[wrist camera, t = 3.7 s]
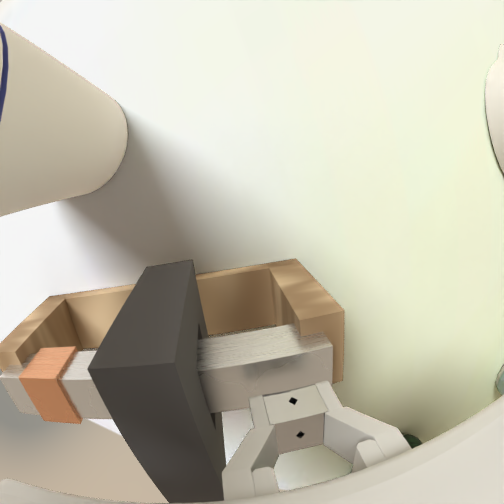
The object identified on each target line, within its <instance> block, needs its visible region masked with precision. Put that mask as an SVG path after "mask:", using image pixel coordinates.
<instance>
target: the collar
mask: <svg viewBox="0 0 504 504" xmlns="http://www.w3.org/2000/svg"><path fill="white" fill-rule="evenodd" d="M207 338H209V336H208V332H207V328H206V323H205V318H204V314H203V309H202V305H201V300H200V295H199V290H198V285H197V280H196V275H195V270H194V265H193V260H188V261H181V262H175V263H169V264H163V265H156V266H150V267H146V269H145V270H144V272H143V274H142V275H141V277H140V278H139V280H138V282H137V283H136V285H135V286H134V288H133V290H132V291H131V293H130V295H129V296H128V298H127V300H126V301H125V303H124V305H123V306H122V308H121V310H120V311H119V313H118V315H117V316H116V318H115V320H114V321H113V323H112V325H111V327H110V328H109V330H108V332H107V334H106V335H105V337H104V339H103V341H102V343H101V344H100V346H99V348H98V350H97V352H96V353H95V355H94V357H93V359H92V361H91V363H90V365H89V366H88V368H87V370H88V372H89V374H90V376H91V378H92V380H93V382H94V384H95V386H96V388H97V390H98V392H99V394H100V396H101V398H102V400H103V402H104V404H105V406H106V408H107V410H108V412H109V413H110V415H111V417H112V419H113V420H114V422H115V424H116V426H117V427H118V429H119V431H120V433H121V434H122V436H123V438H124V439H125V441H126V442H127V444H128V446H129V447H130V449H131V450H132V452H133V453H134V455H135V457H136V458H137V460H138V461H139V463H140V464H141V465H142V467H143V468H144V470H145V471H146V473H147V474H148V475H149V477H150V478H151V479H152V481H153V482H154V484H155V485H156V486H157V488H158V489H159V490H160V492H161V493H162V494H163V496H164V497H165V498H166V499H167V501H168V502H169V503H200V502H214V501H224V493H223V482H222V471H223V470H224V469H225V467H226V458H225V448H224V437H223V425H222V413H221V412H216V413H210V411H209V408H208V405H207V402H206V399H205V395H204V392H203V389H202V386H201V382H200V379H199V375H198V372H197V368H196V365H197V344H198V340H200V339H207Z"/></svg>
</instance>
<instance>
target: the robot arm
mask: <svg viewBox="0 0 504 504" xmlns="http://www.w3.org/2000/svg"><path fill="white" fill-rule="evenodd" d="M485 103H486V114H487V121H488V126H489V131H490V136H491V140H492V144H493V147H494V151H495V154H496V157H497V159H498V162H499V164H500V167H501V169H502V171H503V173H504V44H500V46H499V51H498V58H497V60H496V61H495V62H494V63H493V65H492V66H491V67H490V69H489V71H488V74H487V79H486V86H485ZM249 405H250V410H251V415H252V420H253V425H254V428H253V429H250V430H249V432H248V433H247V435H246V437H245V438H244V440H243V441H242V443H241V444H240V446H239V447H238V449H237V450H236V452H235V454H234V455H233V457H232V458H231V460H230V461H229V463H228V464H227V466H226V467H225V469H224V470H223V471H222V482H223V493H224V501H214V502H200V503H138V502H124V501H113V500H105V499H97V498H90V497H84V496H78V495H72V494H67V493H62V492H58V491H53V490H49V489H45V488H40V487H37V486H33V485H29V484H26V483H23V482H20V481H17V480H14V479H8V478H7V479H3V480H1V481H0V504H504V395H502V396H501V397H500V398H498V399H497V400H495V401H494V402H493V403H491V404H490V405H488V406H487V407H485V408H484V409H482V410H481V411H479V412H478V413H476V414H475V415H473V416H471V417H470V418H468V419H467V420H465V421H463V422H462V423H460V424H458V425H457V426H455V427H453V428H451V429H450V430H448V431H446V432H444V433H442V434H441V435H439V436H437V437H435V438H433V439H431V440H429V441H427V442H425V443H423V444H421V445H419V446H417V447H415V448H413V449H412V448H411V447H410V445H409V444H408V443H407V441H406V440H405V438H404V437H403V435H402V434H401V432H400V431H399V430H398V428H397V427H394V426H392V425H389V424H387V423H384V422H382V421H379V420H377V419H375V418H372V417H370V416H368V415H365V414H363V413H361V412H358V411H356V410H354V409H352V408H349V407H343V406H342V404H341V402H340V401H339V399H338V397H337V395H336V394H335V392H334V390H333V388H332V387H331V385H330V383H329V382H328V381H323V382H320V383H316V384H312V385H308V386H304V387H300V388H296V389H292V390H288V391H282V392H277V393H271V394H265V395H261V396H255V397H249ZM320 444H324V445H325V446H326V447H328V448H329V449H331V450H332V451H334V452H335V453H337V454H338V455H340V456H341V457H343V458H344V459H346V460H347V461H349V462H350V463H352V464H353V467H352V472H351V474H348V475H345V476H342V477H338V478H335V479H332V480H328V481H325V482H321V483H318V484H314V485H310V486H306V487H302V488H298V489H293V490H289V491H284V492H280V491H279V488H278V484H277V480H276V476H275V473H274V469H273V468H274V466H275V464H276V461H277V459H278V457H279V454H283V453H287V452H291V451H295V450H299V449H303V448H308V447H312V446H316V445H320Z"/></svg>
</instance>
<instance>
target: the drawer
mask: <svg viewBox="0 0 504 504" xmlns="http://www.w3.org/2000/svg"><path fill="white" fill-rule="evenodd" d="M196 280H197V285H198V290H199V295H200V300H201V305H202V309H203V314H204V318H205V323H206V328H207V332H208V335H215V334H221V333H227V332H234V331H240V330H246V329H252V328H257V327H263V326H268V325H274V324H275V325H276V327H278V326H283V325H288V324H293V323H294V325H295V327H296V329H297V330H298V332H299V334H300V336H305V335H310V334H314V333H319V332H324V334H325V335H326V337H327V338H328V340H329V341H330V342H331V344H332V345H333V372H332V384H333V383H337V382H340V381H343V360H344V309H343V308H342V307H341V306H340V305H339V304H338V303H337V302H336V301H335V300H334V299H333V298H332V297H331V295H330V294H329V293H328V292H327V291H326V290H325V289H324V288H323V287H322V286H321V285H320V284H319V283H318V282H317V280H316V279H315V278H314V277H313V276H312V275H311V274H310V273H309V272H308V271H307V270H306V269H305V268H304V267H303V266H302V265H301V263H300V262H299V261H298V260H297V259H290V260H284V261H278V262H272V263H266V264H260V265H254V266H248V267H241V268H235V269H229V270H223V271H217V272H210V273H204V274H198V275H196ZM135 285H136V284H132V285H125V286H119V287H112V288H105V289H98V290H91V291H84V292H77V293H70V294H63V295H56V296H49V297H48V298H47V299H46V300H45V301H44V302H43V303H42V304H41V305H39V306H38V307H37V308H36V309H35V310H34V311H33V312H32V313H31V314H30V315H29V316H28V317H27V318H26V319H25V320H23V321H22V322H21V323H20V324H19V325H18V326H17V327H16V328H15V329H14V330H13V331H12V332H11V333H10V334H9V335H8V336H7V337H6V338H5V339H4V340H3V341H2V342H1V343H0V369H1V371H2V372H4V371H5V369H6V368H7V367H8V366H9V365H22V364H23V362H24V361H25V360H26V359H27V357H28V356H29V355H30V354H31V353H38V351H39V350H40V349H41V348H54V347H73V346H76V348H77V351H78V352H80V351H82V350H83V349H87V348H99V346H100V344H101V343H102V341H103V339H104V337H105V335H106V334H107V332H108V330H109V328H110V327H111V325H112V323H113V321H114V320H115V318H116V316H117V315H118V313H119V311H120V310H121V308H122V306H123V305H124V303H125V301H126V300H127V298H128V296H129V295H130V293H131V291H132V290H133V288H134V286H135Z"/></svg>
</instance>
